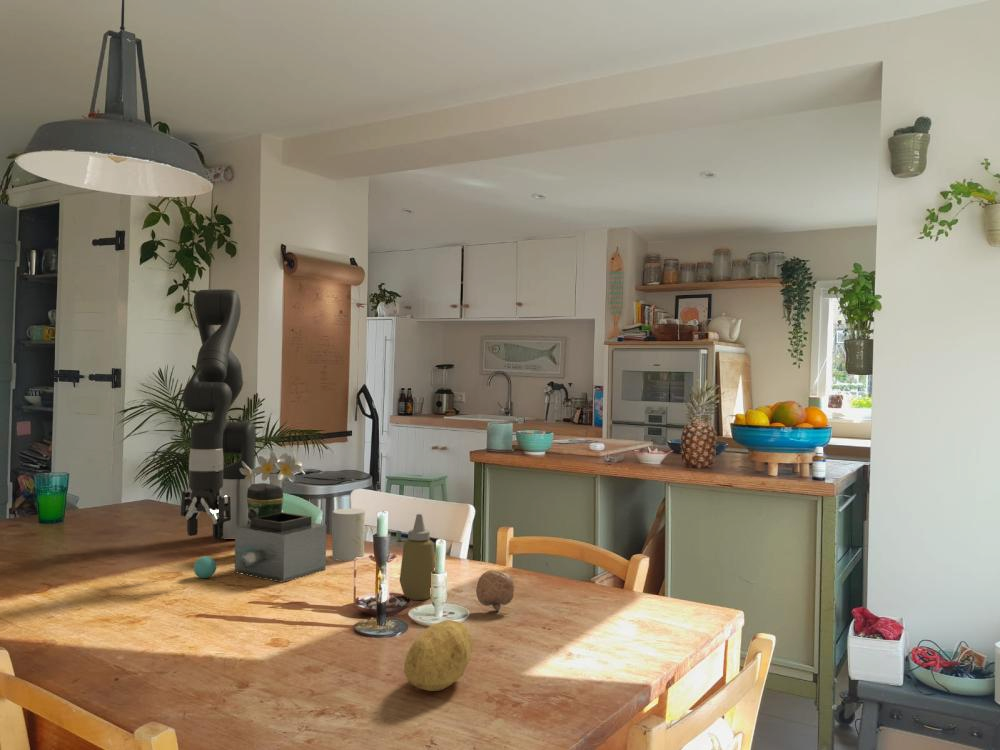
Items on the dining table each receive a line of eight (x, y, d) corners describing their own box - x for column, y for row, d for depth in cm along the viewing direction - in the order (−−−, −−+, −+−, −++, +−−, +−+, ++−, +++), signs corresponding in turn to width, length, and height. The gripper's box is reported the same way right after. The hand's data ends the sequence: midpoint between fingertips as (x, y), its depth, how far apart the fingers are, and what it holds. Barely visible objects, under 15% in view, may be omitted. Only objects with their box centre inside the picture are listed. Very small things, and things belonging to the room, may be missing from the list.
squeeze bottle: (430, 603, 166) (431, 518, 166) (394, 600, 168) (395, 516, 168) (440, 593, 174) (442, 512, 174) (406, 590, 176) (407, 510, 176)
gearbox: (221, 576, 184) (222, 521, 184) (277, 560, 200) (278, 509, 200) (270, 586, 176) (271, 529, 176) (325, 569, 192) (326, 516, 192)
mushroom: (518, 610, 163) (519, 571, 163) (502, 617, 158) (503, 578, 158) (489, 603, 167) (489, 566, 167) (472, 610, 162) (472, 572, 162)
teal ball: (188, 578, 182) (188, 557, 182) (206, 574, 186) (206, 552, 186) (203, 582, 179) (203, 560, 179) (220, 577, 184) (221, 555, 184)
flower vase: (231, 542, 220) (233, 452, 220) (287, 532, 234) (288, 448, 234) (258, 549, 212) (260, 456, 211) (314, 538, 226) (315, 452, 226)
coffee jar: (287, 555, 206) (288, 484, 206) (260, 560, 200) (261, 487, 200) (268, 548, 213) (269, 480, 213) (241, 553, 207) (242, 483, 207)
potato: (489, 680, 126) (490, 621, 126) (423, 708, 115) (424, 644, 115) (445, 664, 133) (446, 608, 133) (379, 689, 122) (380, 628, 122)
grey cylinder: (360, 561, 201) (361, 514, 201) (329, 560, 201) (329, 513, 201) (366, 553, 209) (367, 508, 209) (336, 552, 210) (337, 508, 209)
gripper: (172, 467, 183) (170, 536, 183) (214, 471, 176) (212, 544, 176) (198, 464, 189) (197, 531, 189) (240, 468, 182) (239, 538, 182)
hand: (204, 537), depth 182 cm, fingers open, 8 cm apart
